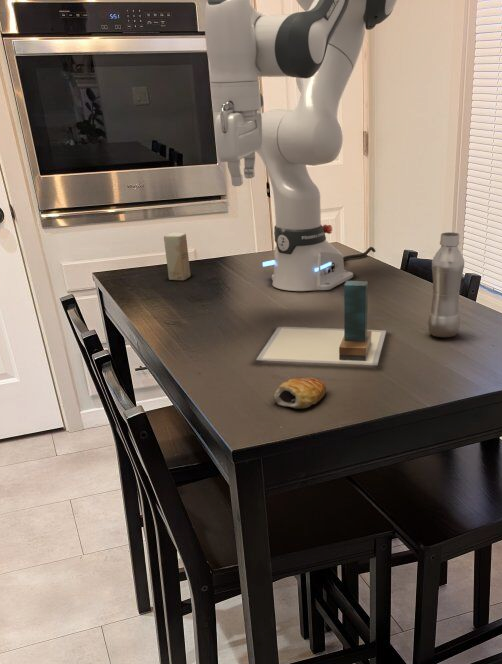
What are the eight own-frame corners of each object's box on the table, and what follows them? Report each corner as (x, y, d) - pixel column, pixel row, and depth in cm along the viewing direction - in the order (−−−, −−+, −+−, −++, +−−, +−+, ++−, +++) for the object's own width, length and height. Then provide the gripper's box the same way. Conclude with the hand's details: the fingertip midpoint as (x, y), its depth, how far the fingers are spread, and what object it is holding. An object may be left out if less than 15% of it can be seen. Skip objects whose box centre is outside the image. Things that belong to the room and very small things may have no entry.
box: (183, 281, 188) (178, 236, 182) (168, 280, 189) (162, 235, 183) (191, 275, 192) (186, 232, 186) (176, 275, 193) (170, 231, 187)
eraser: (339, 359, 135) (338, 290, 128) (346, 342, 144) (346, 275, 137) (365, 360, 135) (366, 290, 128) (371, 343, 143) (372, 276, 136)
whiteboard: (255, 364, 136) (255, 359, 136) (278, 330, 153) (278, 326, 152) (377, 369, 133) (377, 364, 133) (386, 334, 150) (386, 330, 149)
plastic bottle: (461, 332, 151) (470, 231, 140) (455, 342, 145) (463, 238, 135) (431, 329, 152) (437, 230, 142) (424, 339, 147) (429, 236, 136)
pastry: (304, 386, 127) (304, 365, 125) (336, 395, 123) (336, 373, 121) (270, 404, 120) (269, 382, 118) (303, 414, 117) (302, 392, 115)
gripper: (238, 103, 123) (246, 190, 131) (265, 96, 140) (270, 173, 148) (203, 104, 124) (213, 190, 132) (233, 97, 141) (241, 174, 149)
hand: (243, 181), depth 140 cm, fingers open, 8 cm apart
